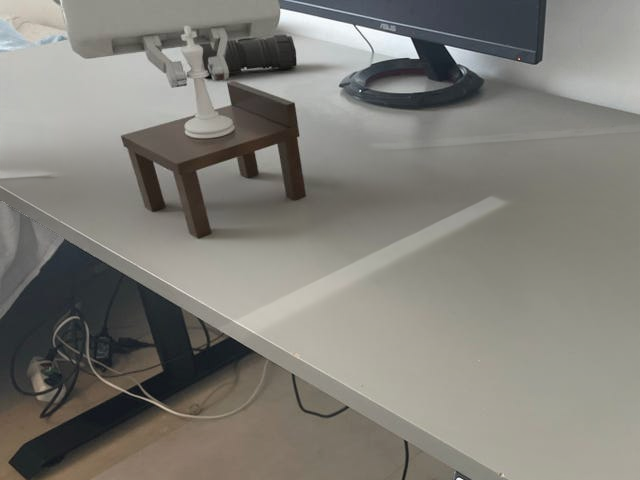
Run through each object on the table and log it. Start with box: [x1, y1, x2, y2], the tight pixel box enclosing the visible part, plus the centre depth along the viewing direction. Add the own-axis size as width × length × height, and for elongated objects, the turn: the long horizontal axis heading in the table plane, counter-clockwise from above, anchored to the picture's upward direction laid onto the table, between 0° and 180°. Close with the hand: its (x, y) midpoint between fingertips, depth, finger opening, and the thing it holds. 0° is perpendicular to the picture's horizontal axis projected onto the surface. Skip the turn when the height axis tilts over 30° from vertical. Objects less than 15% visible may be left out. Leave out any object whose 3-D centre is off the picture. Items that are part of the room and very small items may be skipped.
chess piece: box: [180, 26, 235, 139], centre depth 71 cm, size 5×5×10 cm
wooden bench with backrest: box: [120, 80, 307, 239], centre depth 76 cm, size 14×11×10 cm
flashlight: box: [199, 34, 298, 78], centre depth 116 cm, size 15×5×5 cm, turn 112°
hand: (200, 80), depth 71 cm, fingers open, 3 cm apart
